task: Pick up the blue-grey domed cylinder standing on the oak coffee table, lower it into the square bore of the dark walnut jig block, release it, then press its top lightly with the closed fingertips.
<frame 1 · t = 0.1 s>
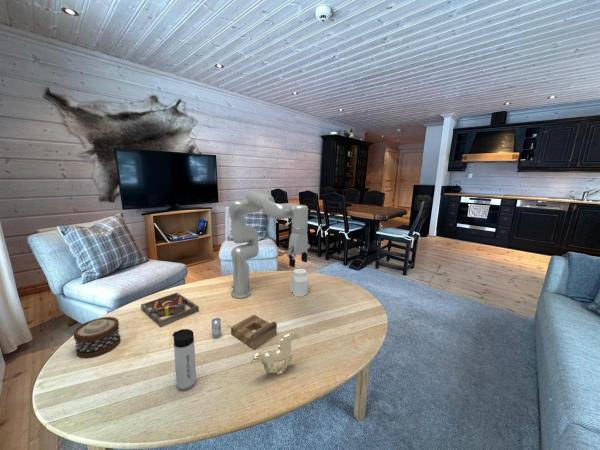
hand: (298, 264, 120), 31 cm above the table, fingers open, 9 cm apart
brown drum: (99, 346, 103), on the table
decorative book: (169, 311, 132), resting in book frame
book frame: (170, 310, 132), on the table
unicorn: (276, 373, 92), on the table
jar: (299, 293, 158), on the table
jig: (253, 334, 114), on the table
travel mug: (186, 384, 86), on the table
blue-grey domed cylinder: (216, 336, 112), on the table
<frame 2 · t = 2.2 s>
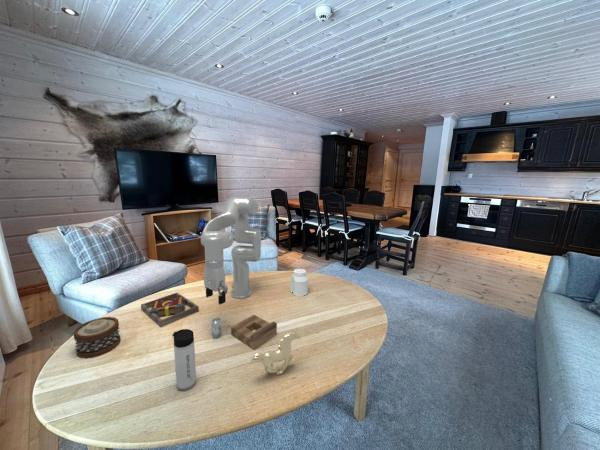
hand: (215, 299, 109), 18 cm above the table, fingers open, 9 cm apart
nothing on the table moved.
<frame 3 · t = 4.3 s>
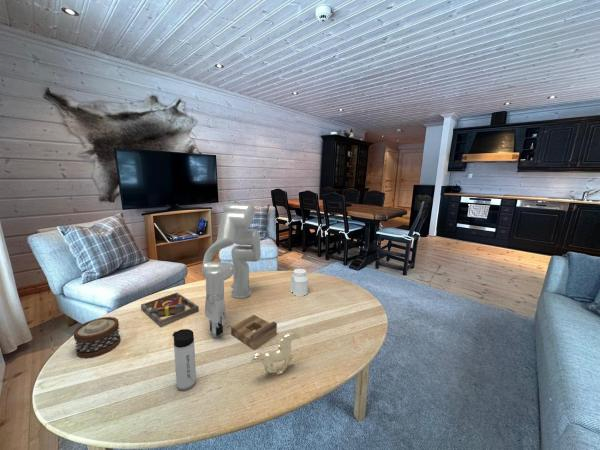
hand: (216, 331, 112), 2 cm above the table, fingers closed on blue-grey domed cylinder, 4 cm apart
blue-grey domed cylinder: (216, 336, 112), on the table, touching gripper
everything else where it was.
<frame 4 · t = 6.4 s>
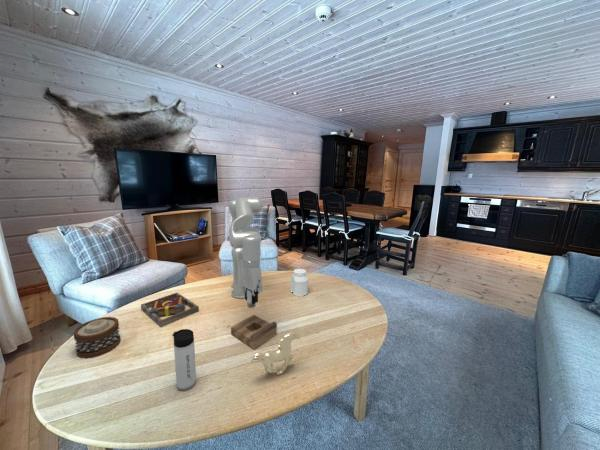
hand: (251, 300, 111), 17 cm above the table, fingers closed on blue-grey domed cylinder, 4 cm apart
blue-grey domed cylinder: (251, 305, 111), point 15 cm above the table, touching gripper
everything else where it was.
when the fingers open (5 cm above the table, at t = 8.4 s): blue-grey domed cylinder drops 3 cm, resting in jig.
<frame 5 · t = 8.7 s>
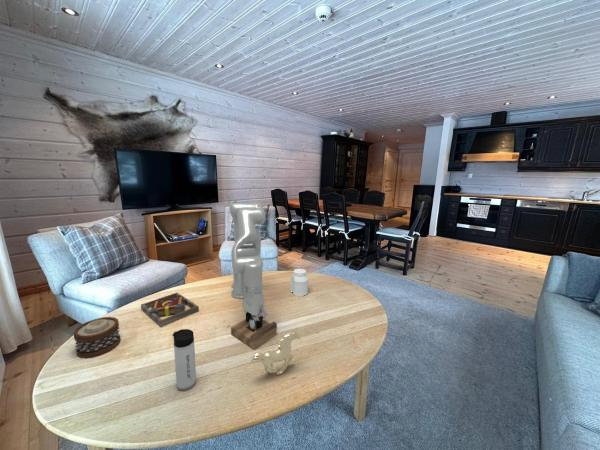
hand: (253, 323, 113), 6 cm above the table, fingers open, 6 cm apart
blue-grey domed cylinder: (253, 334, 114), resting in jig
everything else where it was.
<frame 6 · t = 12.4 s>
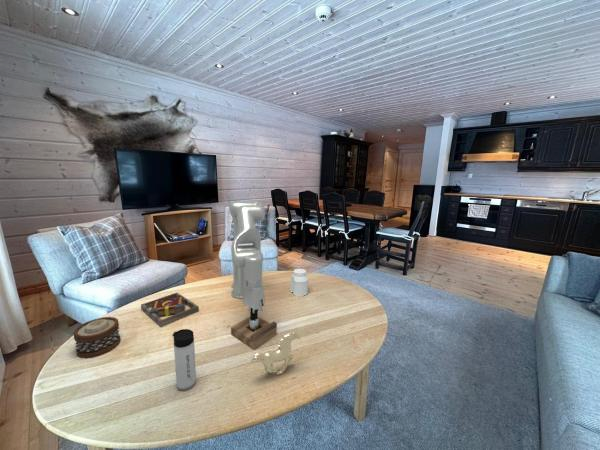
hand: (253, 319, 113), 8 cm above the table, fingers closed
blue-grey domed cylinder: (253, 334, 114), resting in jig, touching gripper
everything else where it was.
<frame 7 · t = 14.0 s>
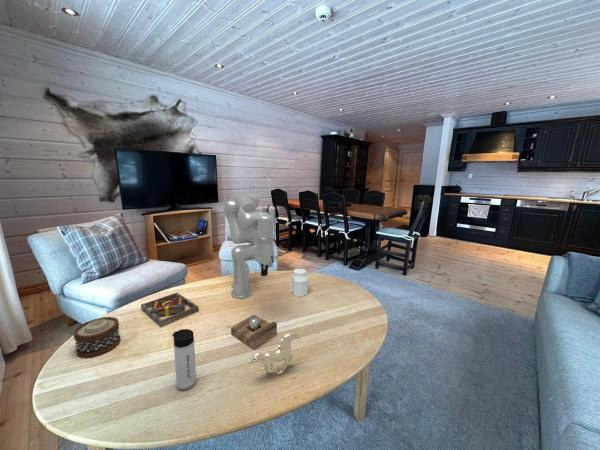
hand: (264, 275, 121), 25 cm above the table, fingers closed
blue-grey domed cylinder: (253, 334, 114), resting in jig
everything else where it was.
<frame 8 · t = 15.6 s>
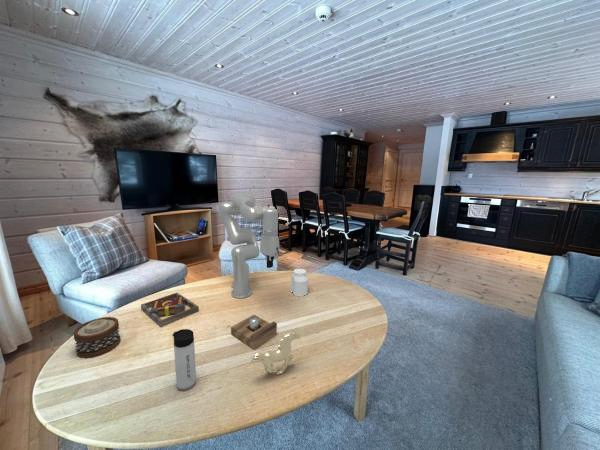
hand: (269, 267, 126), 27 cm above the table, fingers closed
nothing on the table moved.
at the end: blue-grey domed cylinder 0.1 cm off-centre on the jig, point 0.0 cm above the jig's base; blue-grey domed cylinder tilted 0°; the gripper is holding nothing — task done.
